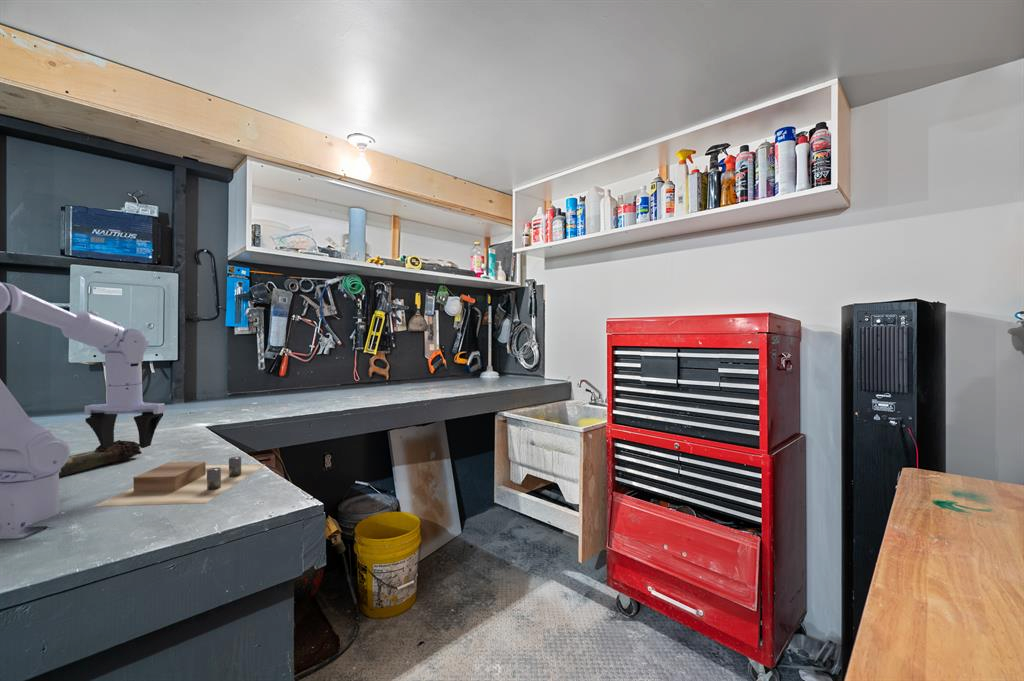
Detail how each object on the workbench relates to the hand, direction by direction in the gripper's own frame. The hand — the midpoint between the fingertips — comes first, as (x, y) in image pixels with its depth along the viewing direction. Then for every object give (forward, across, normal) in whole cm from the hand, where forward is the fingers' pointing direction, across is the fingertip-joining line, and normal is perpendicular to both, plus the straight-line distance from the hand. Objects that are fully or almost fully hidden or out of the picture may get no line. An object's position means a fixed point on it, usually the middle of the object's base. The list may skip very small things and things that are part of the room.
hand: (126, 447), depth 92 cm
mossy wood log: (+10, +21, -18) cm, 30 cm away
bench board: (+10, -13, 0) cm, 16 cm away
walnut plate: (+8, -9, 0) cm, 12 cm away
